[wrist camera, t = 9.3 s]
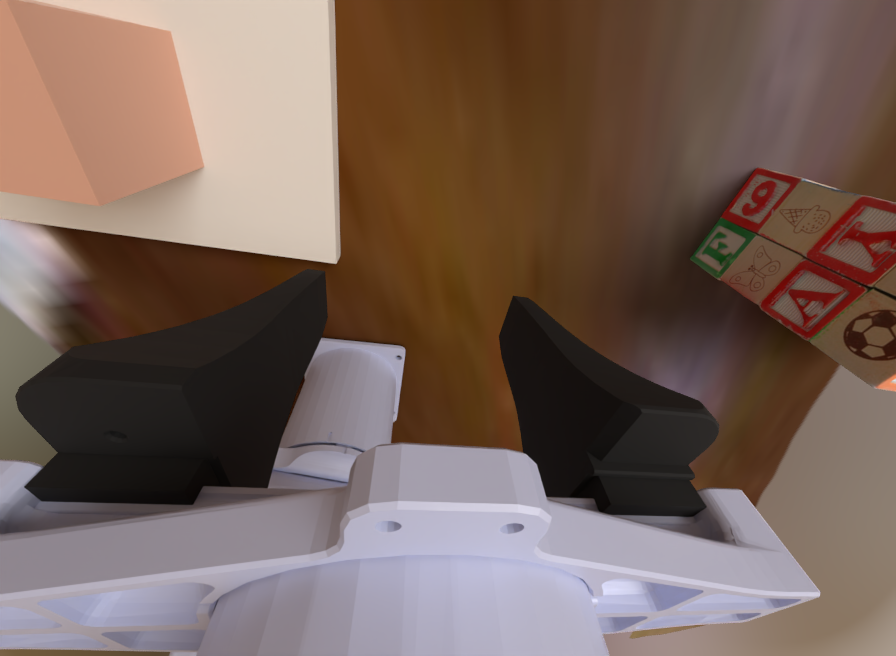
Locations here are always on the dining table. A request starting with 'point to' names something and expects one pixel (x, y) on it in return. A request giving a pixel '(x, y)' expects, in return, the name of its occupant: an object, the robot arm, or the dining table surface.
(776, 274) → the stack of blocks
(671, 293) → the dining table surface
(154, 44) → the salmon orange block
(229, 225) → the post board
